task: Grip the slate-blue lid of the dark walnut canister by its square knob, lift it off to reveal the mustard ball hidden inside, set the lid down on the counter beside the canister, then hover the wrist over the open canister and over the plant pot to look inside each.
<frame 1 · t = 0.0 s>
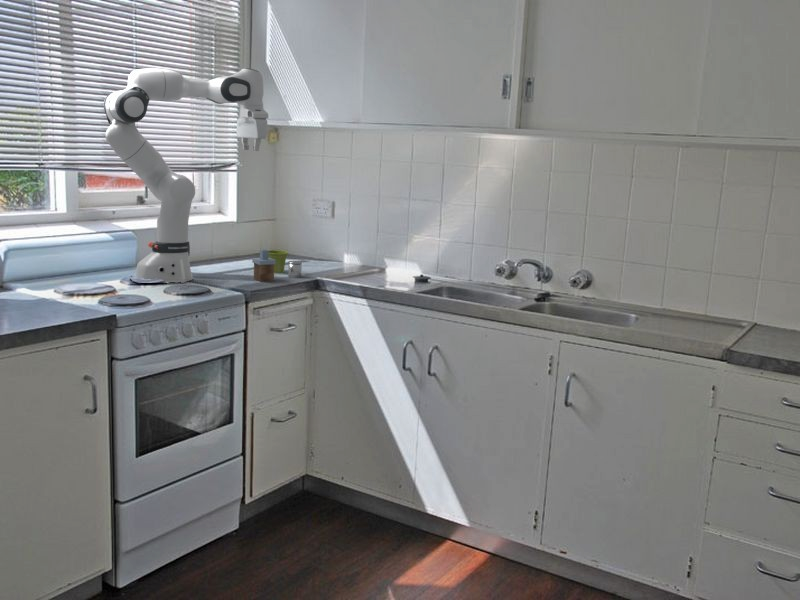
hand: (251, 150, 322), 48 cm above the worktop, tool pointing down, fingers open, 8 cm apart
ball: (263, 279, 318), point 1 cm above the worktop, touching canister
tin: (294, 278, 329), on the worktop
plant pot: (276, 273, 338), on the worktop
canister: (263, 281, 318), on the worktop
lid: (264, 263, 317), point 7 cm above the worktop, touching canister
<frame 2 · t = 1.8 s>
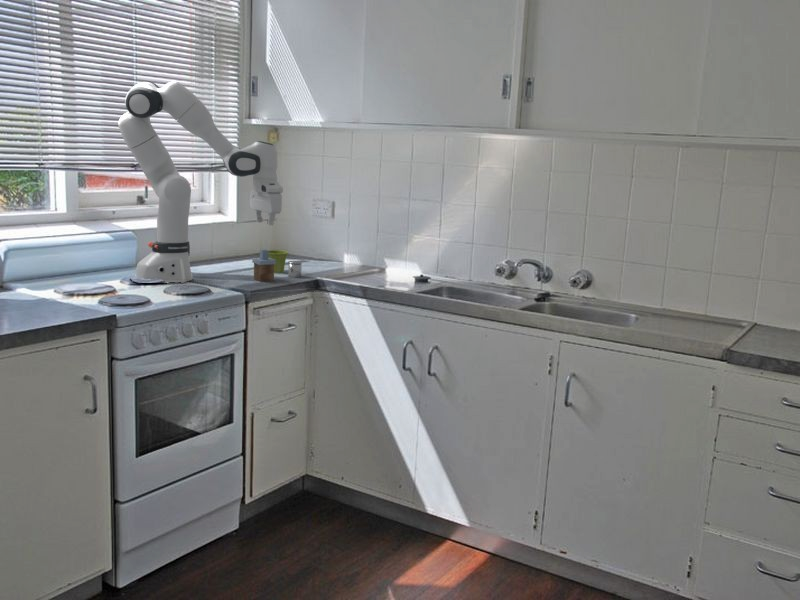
hand: (264, 223, 314), 22 cm above the worktop, tool pointing down, fingers open, 8 cm apart
nothing on the worktop moved.
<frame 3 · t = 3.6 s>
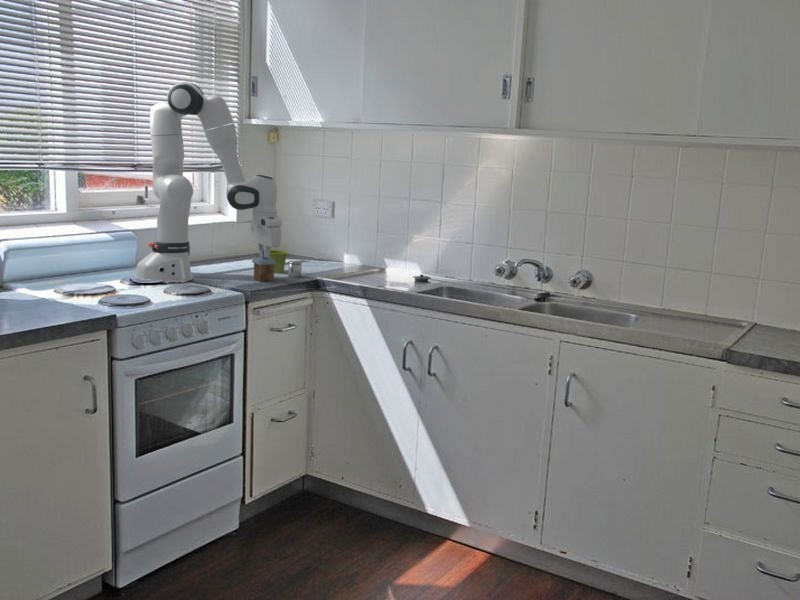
hand: (264, 256, 316), 10 cm above the worktop, tool pointing down, fingers closed on lid, 2 cm apart
lid: (264, 263, 317), point 7 cm above the worktop, touching canister, gripper
everything else where it was.
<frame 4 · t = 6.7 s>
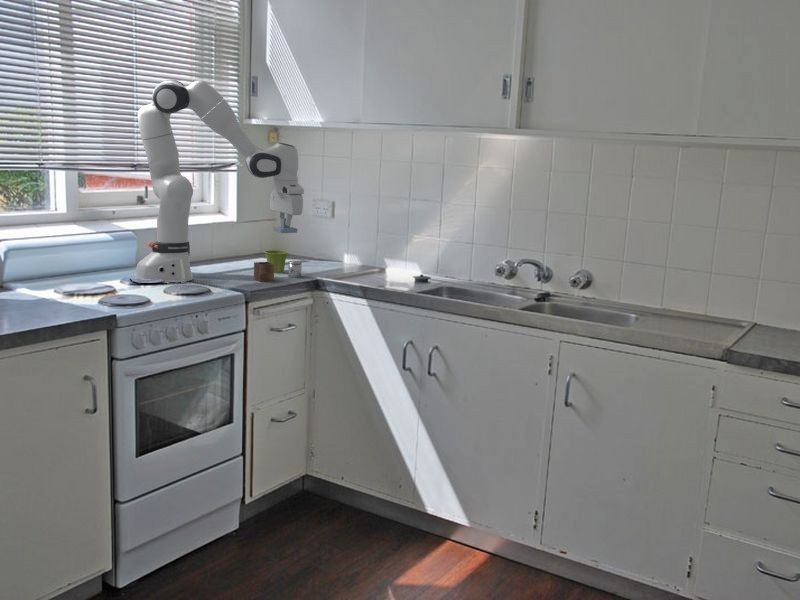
hand: (285, 225, 315), 22 cm above the worktop, tool pointing down, fingers closed on lid, 2 cm apart
lid: (285, 231, 316), point 19 cm above the worktop, touching gripper
everything else where it was.
when the fingers open (4 cm above the worktop, at t = 9.9 s): lid drops 2 cm, on the worktop.
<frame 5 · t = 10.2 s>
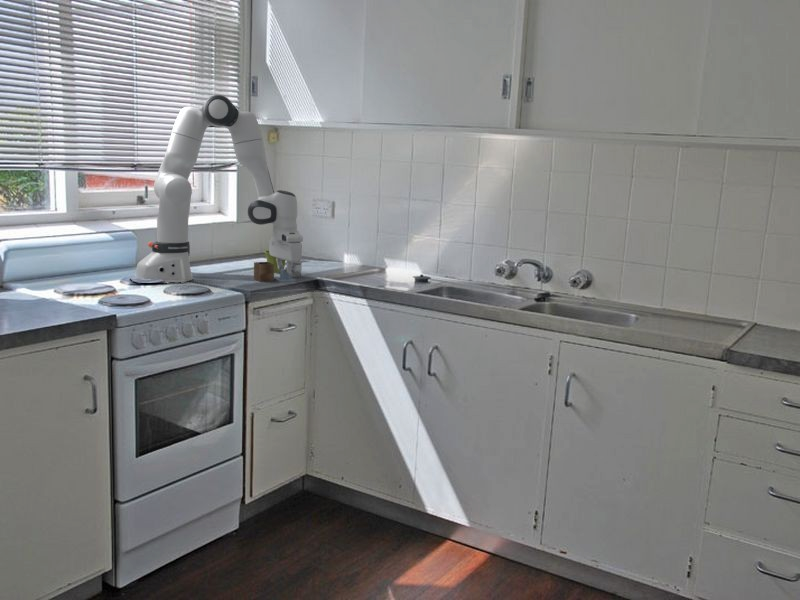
hand: (284, 271, 319), 4 cm above the worktop, tool pointing down, fingers open, 5 cm apart
lid: (284, 282, 320), on the worktop
everything else where it was.
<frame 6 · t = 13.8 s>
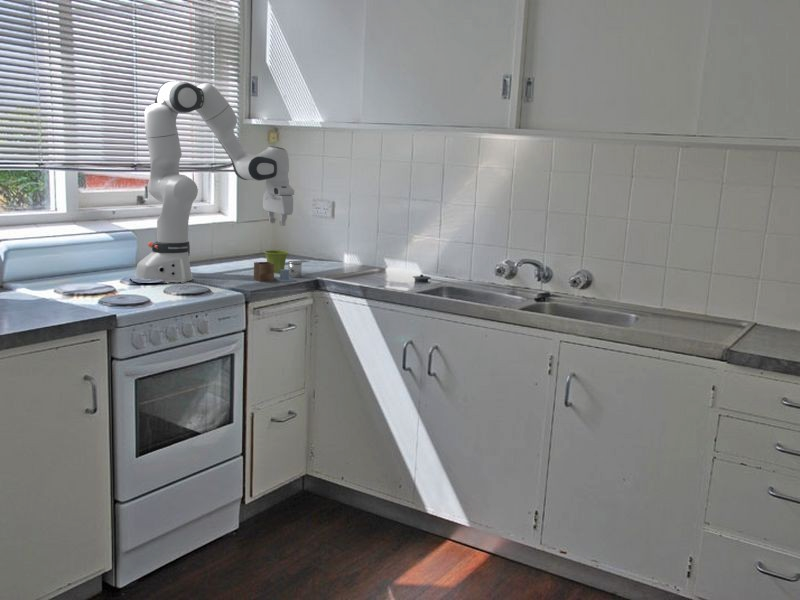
hand: (277, 224, 333), 20 cm above the worktop, tool pointing down, fingers open, 8 cm apart
nothing on the worktop moved.
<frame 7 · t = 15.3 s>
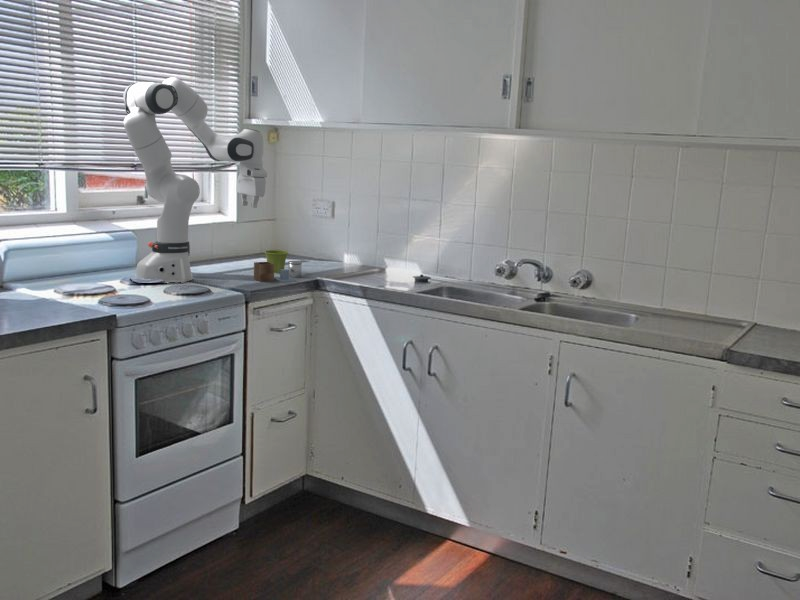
hand: (249, 206, 334), 26 cm above the worktop, tool pointing down, fingers open, 8 cm apart
nothing on the worktop moved.
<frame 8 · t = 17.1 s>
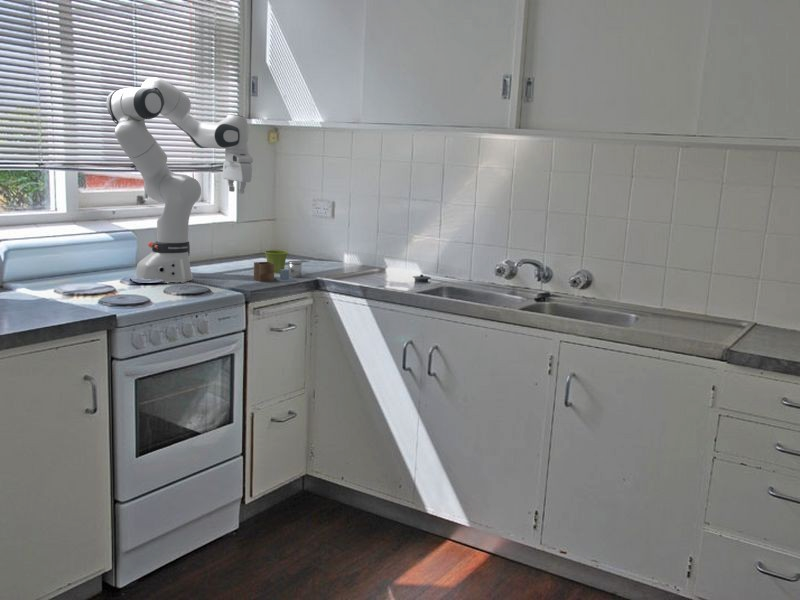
hand: (236, 192, 335), 31 cm above the worktop, tool pointing down, fingers open, 8 cm apart
nothing on the worktop moved.
at the end: lid inside the target area (0.1 cm from its centre), on the worktop; lid touching worktop; lid tilted 0° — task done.
